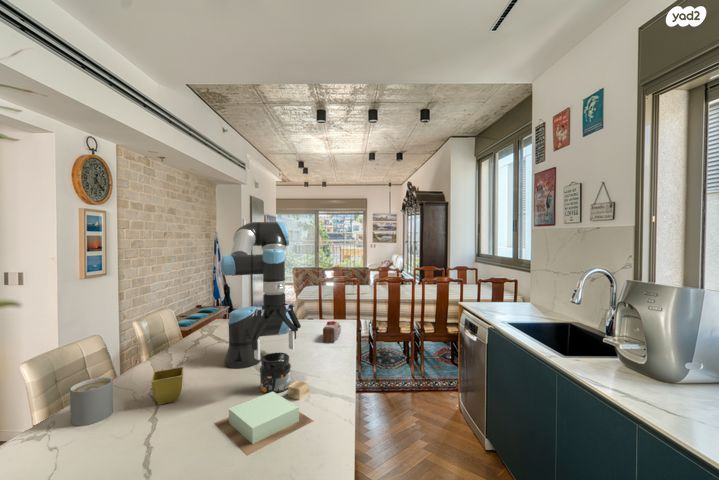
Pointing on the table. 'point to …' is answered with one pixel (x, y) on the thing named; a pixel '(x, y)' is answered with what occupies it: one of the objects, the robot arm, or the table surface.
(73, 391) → the coffee mug
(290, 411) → the pedestal slab
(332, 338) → the food item
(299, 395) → the block
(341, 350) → the table surface
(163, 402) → the flower pot
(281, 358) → the supplement container
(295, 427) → the board
